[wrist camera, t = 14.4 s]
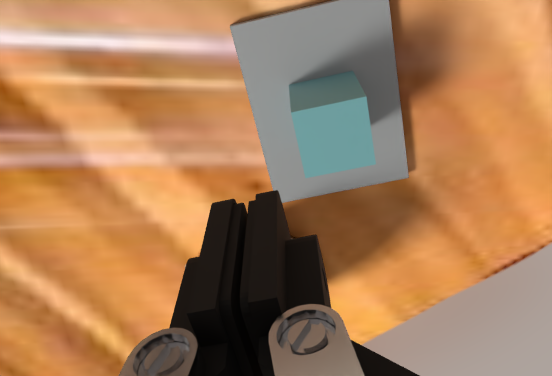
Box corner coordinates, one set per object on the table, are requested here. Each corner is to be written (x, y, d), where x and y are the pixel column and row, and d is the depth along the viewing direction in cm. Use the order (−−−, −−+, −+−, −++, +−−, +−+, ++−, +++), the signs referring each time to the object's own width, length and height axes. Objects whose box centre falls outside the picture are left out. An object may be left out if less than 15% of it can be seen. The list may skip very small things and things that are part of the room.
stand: (230, 24, 38) (223, 40, 33) (385, -13, 36) (403, -3, 31) (276, 199, 45) (276, 234, 40) (406, 173, 44) (423, 206, 39)
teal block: (288, 84, 39) (290, 112, 33) (352, 70, 39) (366, 96, 33) (301, 142, 42) (305, 178, 36) (361, 130, 41) (375, 164, 35)
